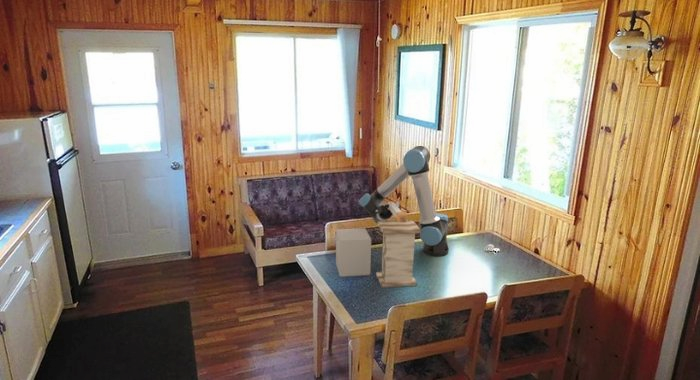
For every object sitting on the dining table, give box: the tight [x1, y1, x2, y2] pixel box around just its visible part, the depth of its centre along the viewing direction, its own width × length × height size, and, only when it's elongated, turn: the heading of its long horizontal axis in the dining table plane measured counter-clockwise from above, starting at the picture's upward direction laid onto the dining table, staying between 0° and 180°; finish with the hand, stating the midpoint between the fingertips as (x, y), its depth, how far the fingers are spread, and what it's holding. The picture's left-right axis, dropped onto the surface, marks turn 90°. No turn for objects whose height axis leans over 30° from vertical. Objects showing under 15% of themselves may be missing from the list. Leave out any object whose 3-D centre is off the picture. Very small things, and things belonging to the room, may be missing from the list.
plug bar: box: [387, 201, 409, 223], centre depth 226 cm, size 24×4×4 cm, turn 9°
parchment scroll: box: [375, 219, 421, 288], centre depth 227 cm, size 14×18×30 cm
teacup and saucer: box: [485, 243, 501, 253], centre depth 269 cm, size 9×8×4 cm
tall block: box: [335, 227, 372, 277], centre depth 240 cm, size 16×16×20 cm
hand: (394, 204), depth 229 cm, fingers closed on plug bar, 3 cm apart
